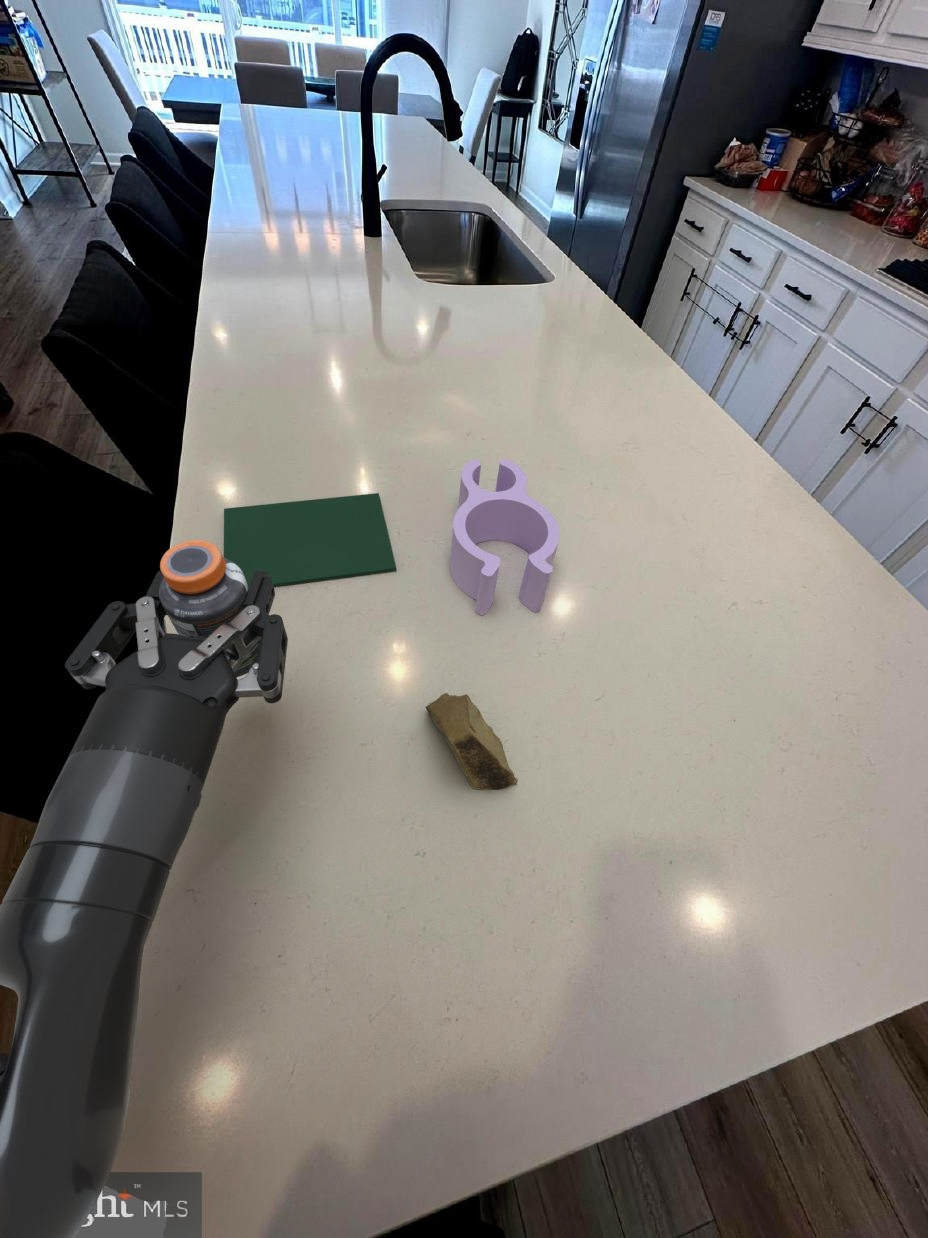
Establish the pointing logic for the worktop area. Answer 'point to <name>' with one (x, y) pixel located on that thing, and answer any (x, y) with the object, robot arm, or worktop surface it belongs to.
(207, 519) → the worktop surface
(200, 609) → the pill bottle
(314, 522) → the mat
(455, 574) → the clip
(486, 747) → the rock
